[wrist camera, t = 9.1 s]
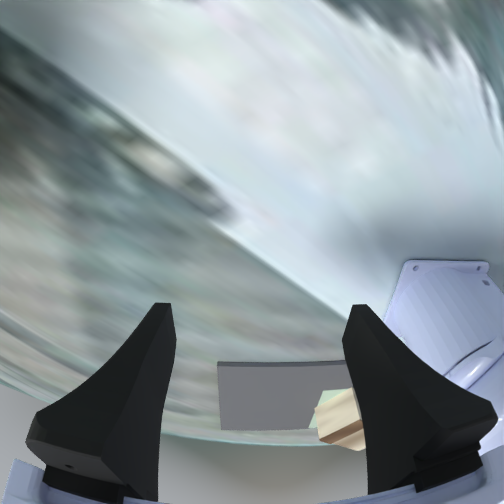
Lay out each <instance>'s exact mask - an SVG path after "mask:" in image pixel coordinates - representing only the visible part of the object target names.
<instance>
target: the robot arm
mask: <svg viewBox="0 0 504 504" xmlns="http://www.w3.org/2000/svg"><path fill="white" fill-rule="evenodd" d="M416 265H417V266H416ZM414 266H416V267H415V268H414ZM489 267H490V265H489V264H488V262H481V261H434V260H408V261H406V262H405V264H404V265H403V268H402V271H401V274H400V277H399V280H398V283H397V286H396V289H395V292H394V294H393V297H392V300H391V302H390V305H389V308H388V310H387V313H386V316H385V318H384V321H382V320H381V319H380V318H379V317H378V316H377V315H376V314H375V313H374V312H373V311H372V309H371V308H370V307H369V306H368V305H367V304H359V305H352V309H351V312H350V315H349V319H348V322H347V325H346V328H345V332H344V335H343V338H342V343H343V349H344V355H345V361H346V364H347V368H348V371H349V374H350V377H351V381H352V384H353V387H354V390H355V394H356V397H357V400H358V404H359V408H360V412H361V417H362V423H363V430H364V437H365V446H366V456H367V472H368V495H367V496H362V497H357V498H351V499H346V500H340V501H333V502H327V503H318V504H504V294H503V293H502V292H501V290H500V289H499V288H498V287H497V286H496V284H495V283H494V282H493V281H492V280H491V278H490V277H489V276H488V275H487V272H488V270H489ZM402 336H403V339H404V341H405V343H406V345H407V346H406V345H405V344H404V343H403V342H402V341H401V340H400V339H399V338H398V337H402ZM176 340H177V339H176V333H175V327H174V321H173V315H172V309H171V303H155V304H154V305H153V306H152V307H151V309H150V310H149V312H148V313H147V314H146V316H145V317H144V318H143V320H142V321H141V322H140V324H139V325H138V326H137V328H136V329H135V330H134V331H133V333H132V334H131V335H130V336H129V338H128V339H127V340H126V341H125V343H124V344H123V345H122V346H121V347H120V348H119V349H118V350H117V352H116V353H115V354H114V355H113V356H112V357H111V358H110V359H109V360H108V361H107V362H106V363H105V364H104V365H103V366H102V367H101V368H100V369H99V370H98V371H97V372H96V373H94V374H93V375H92V376H91V377H90V378H89V379H87V380H86V381H85V382H84V383H82V384H81V385H80V386H79V387H77V388H76V389H74V390H73V391H72V392H70V393H69V394H67V395H66V396H64V397H63V398H61V399H60V400H58V401H56V402H55V403H53V404H51V405H49V406H47V407H46V408H44V409H42V410H40V411H38V412H37V413H36V414H35V417H34V419H33V421H32V424H31V427H30V430H29V433H28V435H27V438H26V441H25V443H26V445H27V447H28V448H29V449H30V450H31V451H32V452H33V453H34V454H35V455H36V456H37V457H38V458H40V459H41V460H42V461H43V462H44V463H45V464H46V469H45V471H44V470H42V469H40V468H38V467H36V466H33V465H31V464H28V463H25V462H23V461H21V460H18V459H14V461H13V464H12V467H11V470H10V473H9V477H8V480H7V484H6V487H5V491H4V495H3V499H2V503H1V504H167V503H160V502H158V461H159V444H160V432H161V421H162V413H163V408H164V403H165V399H166V394H167V390H168V386H169V381H170V377H171V373H172V368H173V364H174V358H175V349H176Z"/></svg>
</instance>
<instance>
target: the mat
mask: <svg viewBox="0 0 504 504" xmlns="http://www.w3.org/2000/svg"><path fill="white" fill-rule="evenodd" d="M217 370H218V388H219V405H220V420H221V430H292V429H310V428H317V421H316V415H315V409H314V408H315V407H317V406H319V405H321V404H323V403H325V402H327V401H328V400H330V399H332V398H334V397H335V396H337V395H339V394H341V393H342V392H344V391H346V390H348V389H349V388H351V387H352V388H354V387H353V384H352V381H351V377H350V374H349V371H348V368H347V364H346V361H326V362H296V363H239V362H218V363H217Z"/></svg>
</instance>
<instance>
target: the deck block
mask: <svg viewBox="0 0 504 504" xmlns="http://www.w3.org/2000/svg"><path fill="white" fill-rule="evenodd" d="M314 409H315V415H316V421H317V428H318V434H319V440H320V441H322V442H325V443H329V444H332V443H333V444H336V445H340V446H343V447H346V448H350V449H353V450H357V451H360V450H362V449H364V448H366V446H365V437H364V430H363V423H362V417H361V412H360V408H359V404H358V400H357V397H356V394H355V390H354V388H352V387H351V388H349V389H348V390H346V391H344V392H342V393H341V394H339V395H337V396H335V397H334V398H332V399H330V400H328V401H327V402H325V403H323V404H321V405H319V406H317V407H315V408H314Z"/></svg>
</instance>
